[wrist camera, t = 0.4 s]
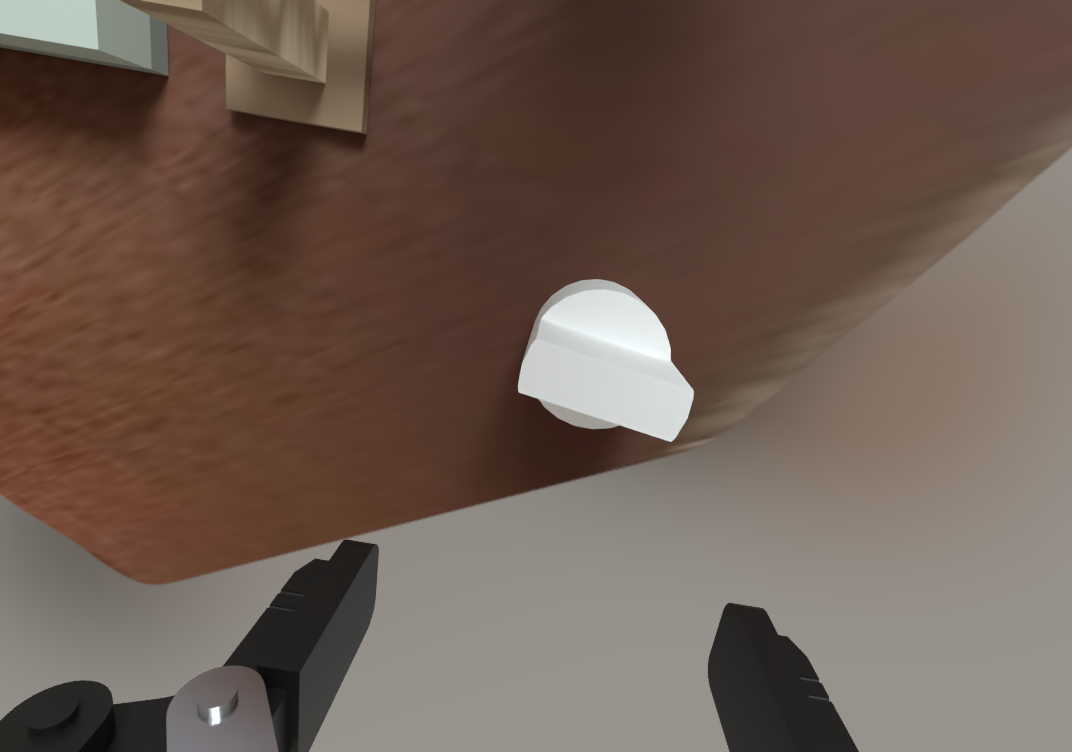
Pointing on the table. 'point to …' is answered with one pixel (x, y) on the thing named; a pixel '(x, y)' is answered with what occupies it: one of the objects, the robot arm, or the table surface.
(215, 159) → the table surface
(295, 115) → the coaster
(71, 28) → the socket block
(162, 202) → the table surface
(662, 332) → the cylinder with rectangular tab
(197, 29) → the pin
